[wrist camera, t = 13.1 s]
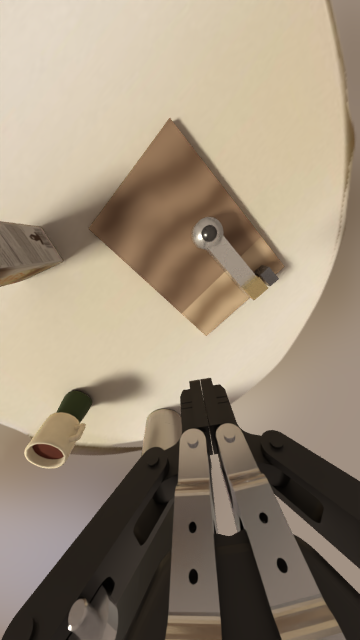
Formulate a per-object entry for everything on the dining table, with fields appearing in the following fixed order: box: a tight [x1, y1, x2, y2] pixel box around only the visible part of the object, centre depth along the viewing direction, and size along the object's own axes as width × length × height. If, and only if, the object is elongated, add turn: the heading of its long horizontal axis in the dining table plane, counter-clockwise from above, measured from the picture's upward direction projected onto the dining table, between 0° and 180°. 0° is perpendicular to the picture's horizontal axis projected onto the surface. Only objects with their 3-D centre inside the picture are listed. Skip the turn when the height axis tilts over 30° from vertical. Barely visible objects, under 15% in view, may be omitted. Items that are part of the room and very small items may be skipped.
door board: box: [89, 118, 284, 336], centre depth 32 cm, size 28×19×1 cm
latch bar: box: [191, 217, 268, 300], centre depth 30 cm, size 15×4×5 cm, turn 45°
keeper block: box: [254, 265, 279, 286], centre depth 33 cm, size 3×2×3 cm, turn 46°
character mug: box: [25, 391, 92, 468], centre depth 39 cm, size 11×7×13 cm, turn 107°
